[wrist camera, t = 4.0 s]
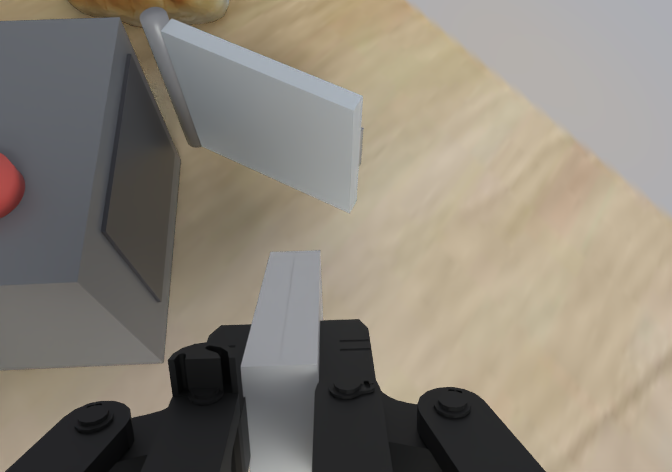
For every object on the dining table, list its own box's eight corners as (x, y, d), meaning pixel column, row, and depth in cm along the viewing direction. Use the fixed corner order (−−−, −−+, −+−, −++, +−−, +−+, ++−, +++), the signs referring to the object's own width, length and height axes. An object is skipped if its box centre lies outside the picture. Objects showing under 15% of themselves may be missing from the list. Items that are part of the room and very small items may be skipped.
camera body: (-82, 374, 24) (-322, 287, 15) (-19, 139, 29) (-171, -27, 20) (167, 362, 24) (70, 270, 16) (186, 131, 29) (122, -36, 21)
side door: (347, 217, 26) (351, 111, 19) (182, 142, 28) (134, 21, 21) (360, 195, 27) (368, 83, 20) (198, 122, 28) (155, -2, 22)
